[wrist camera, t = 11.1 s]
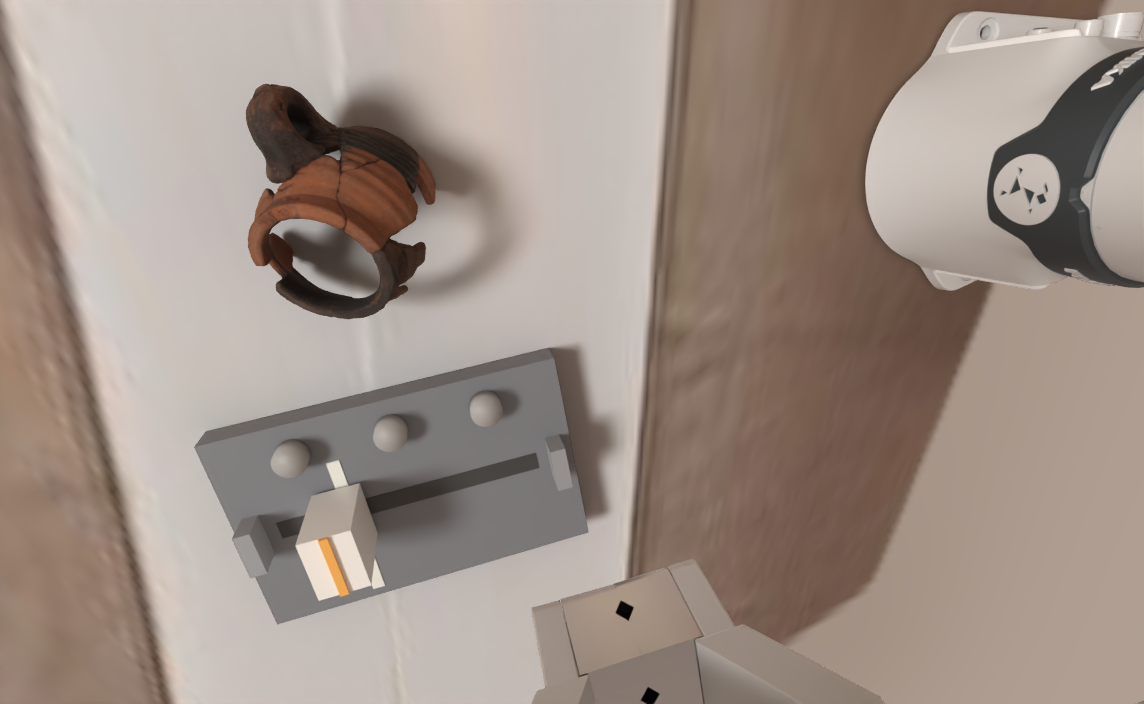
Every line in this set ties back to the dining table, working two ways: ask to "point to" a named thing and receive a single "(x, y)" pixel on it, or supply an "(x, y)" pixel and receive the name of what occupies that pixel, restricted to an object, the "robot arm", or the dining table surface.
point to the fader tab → (338, 542)
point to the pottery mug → (334, 196)
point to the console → (405, 477)
